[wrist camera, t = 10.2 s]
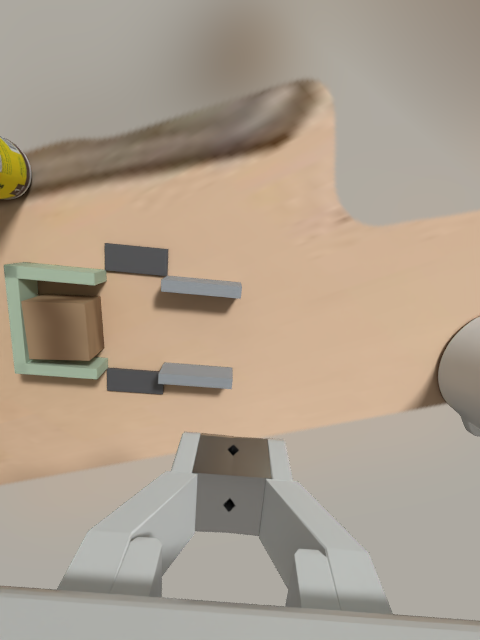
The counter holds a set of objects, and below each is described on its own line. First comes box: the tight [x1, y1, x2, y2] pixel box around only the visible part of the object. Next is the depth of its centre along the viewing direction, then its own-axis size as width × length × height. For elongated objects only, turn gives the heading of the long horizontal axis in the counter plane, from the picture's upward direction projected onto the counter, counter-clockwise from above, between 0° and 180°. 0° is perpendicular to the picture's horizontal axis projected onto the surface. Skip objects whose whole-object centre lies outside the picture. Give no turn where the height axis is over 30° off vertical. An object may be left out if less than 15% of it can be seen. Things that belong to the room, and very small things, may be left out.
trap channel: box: [4, 243, 242, 394], centre depth 33 cm, size 23×17×3 cm
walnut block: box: [21, 294, 104, 361], centre depth 32 cm, size 6×6×4 cm
